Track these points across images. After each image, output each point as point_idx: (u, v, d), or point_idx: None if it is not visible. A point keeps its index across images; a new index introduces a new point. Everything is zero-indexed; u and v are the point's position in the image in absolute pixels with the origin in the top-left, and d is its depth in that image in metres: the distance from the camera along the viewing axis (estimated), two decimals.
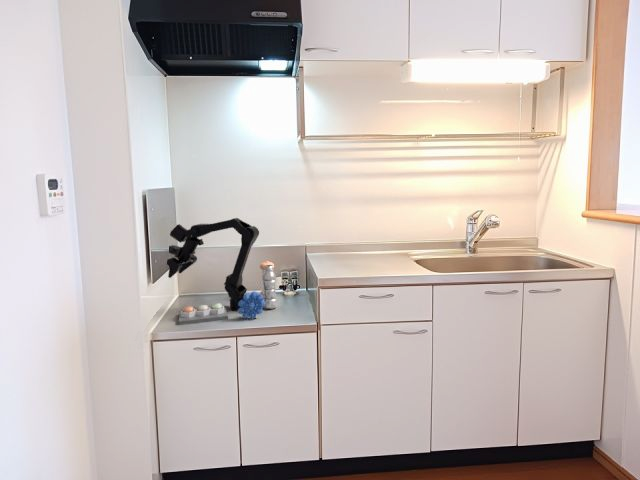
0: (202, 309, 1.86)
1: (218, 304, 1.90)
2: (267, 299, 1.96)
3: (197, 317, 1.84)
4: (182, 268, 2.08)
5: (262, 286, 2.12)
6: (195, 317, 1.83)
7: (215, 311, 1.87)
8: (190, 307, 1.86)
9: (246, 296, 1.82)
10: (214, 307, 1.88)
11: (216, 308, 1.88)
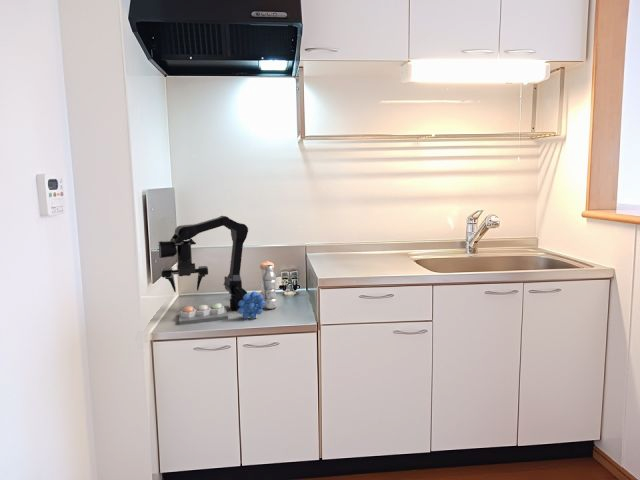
0: (202, 309, 1.86)
1: (218, 304, 1.90)
2: (267, 299, 1.96)
3: (197, 317, 1.84)
4: (174, 285, 1.84)
5: (262, 286, 2.12)
6: (195, 317, 1.83)
7: (215, 311, 1.87)
8: (190, 307, 1.86)
9: (246, 296, 1.82)
10: (214, 307, 1.88)
11: (216, 308, 1.88)
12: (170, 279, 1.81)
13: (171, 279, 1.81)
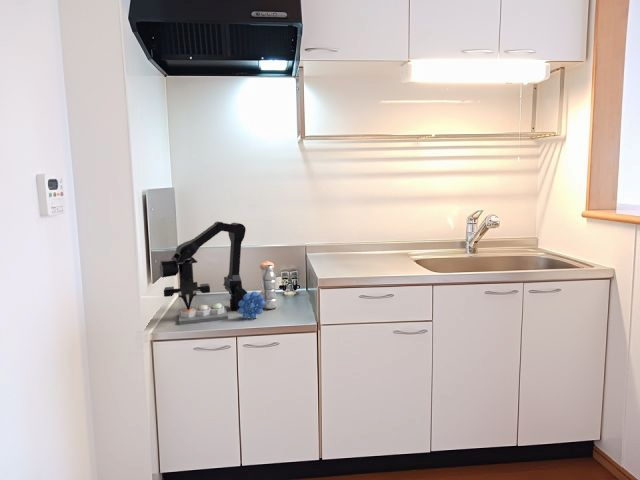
0: (202, 309, 1.86)
1: (218, 304, 1.90)
2: (267, 299, 1.96)
3: (197, 317, 1.84)
4: (187, 302, 1.86)
5: (262, 286, 2.12)
6: (195, 317, 1.83)
7: (215, 311, 1.87)
8: (190, 309, 1.87)
9: (246, 296, 1.82)
10: (214, 307, 1.88)
11: (216, 308, 1.88)
12: (183, 297, 1.83)
13: (184, 297, 1.83)
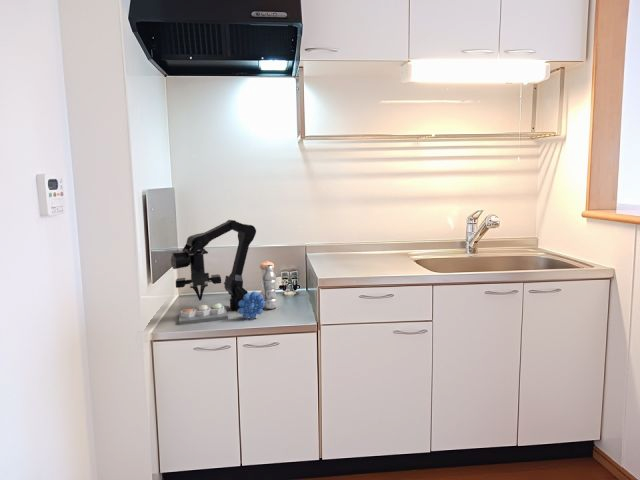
0: (202, 309, 1.86)
1: (218, 304, 1.90)
2: (267, 299, 1.96)
3: (197, 317, 1.84)
4: None
5: (262, 286, 2.12)
6: (195, 317, 1.83)
7: (215, 311, 1.87)
8: (190, 309, 1.87)
9: (246, 296, 1.82)
10: (214, 307, 1.88)
11: (216, 308, 1.88)
12: (195, 288, 1.84)
13: (196, 288, 1.84)
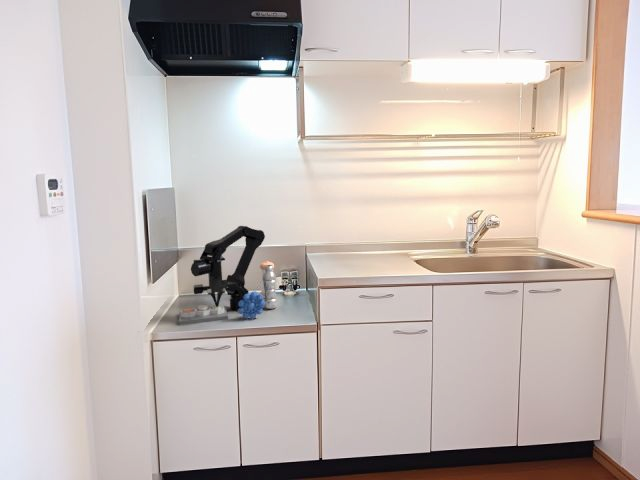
0: (202, 309, 1.86)
1: (218, 306, 1.90)
2: (267, 299, 1.96)
3: (197, 317, 1.84)
4: None
5: (262, 286, 2.12)
6: (195, 317, 1.83)
7: (215, 311, 1.87)
8: (190, 309, 1.87)
9: (246, 296, 1.82)
10: None
11: None
12: (212, 294, 1.86)
13: (213, 294, 1.87)
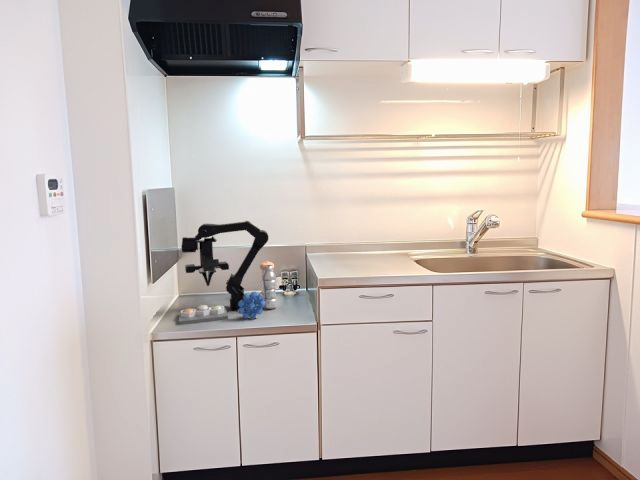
0: (202, 309, 1.86)
1: (218, 306, 1.90)
2: (267, 299, 1.96)
3: (197, 317, 1.84)
4: None
5: (262, 286, 2.12)
6: (195, 317, 1.83)
7: (215, 311, 1.87)
8: (190, 309, 1.87)
9: (246, 296, 1.82)
10: None
11: None
12: (204, 273, 1.93)
13: (205, 273, 1.93)
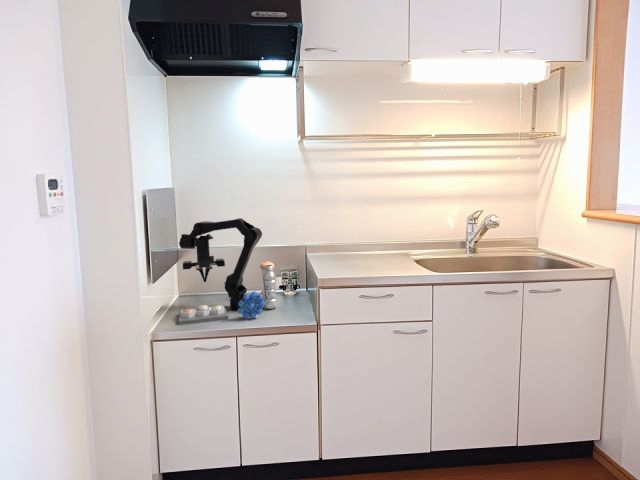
0: (202, 309, 1.86)
1: (218, 306, 1.90)
2: (267, 299, 1.96)
3: (197, 317, 1.84)
4: None
5: (262, 286, 2.12)
6: (195, 317, 1.83)
7: (215, 311, 1.87)
8: (190, 309, 1.87)
9: (246, 296, 1.82)
10: None
11: None
12: (200, 270, 1.98)
13: (201, 270, 1.98)
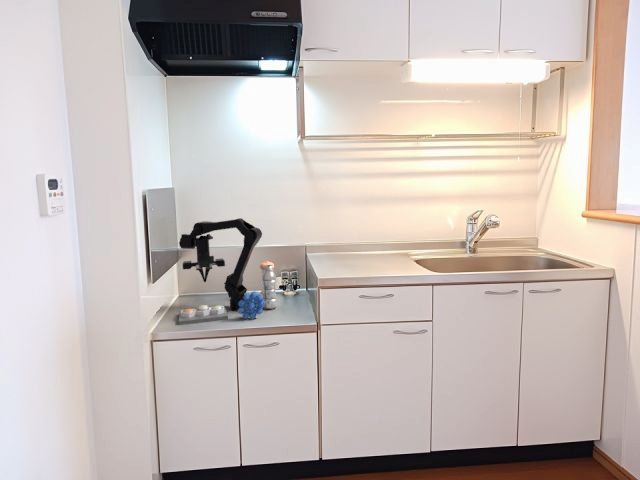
0: (202, 309, 1.86)
1: (218, 306, 1.90)
2: (267, 299, 1.96)
3: (197, 317, 1.84)
4: None
5: (262, 286, 2.12)
6: (195, 317, 1.83)
7: (215, 311, 1.87)
8: (190, 309, 1.87)
9: (246, 296, 1.82)
10: None
11: None
12: (200, 270, 1.98)
13: (201, 270, 1.98)
